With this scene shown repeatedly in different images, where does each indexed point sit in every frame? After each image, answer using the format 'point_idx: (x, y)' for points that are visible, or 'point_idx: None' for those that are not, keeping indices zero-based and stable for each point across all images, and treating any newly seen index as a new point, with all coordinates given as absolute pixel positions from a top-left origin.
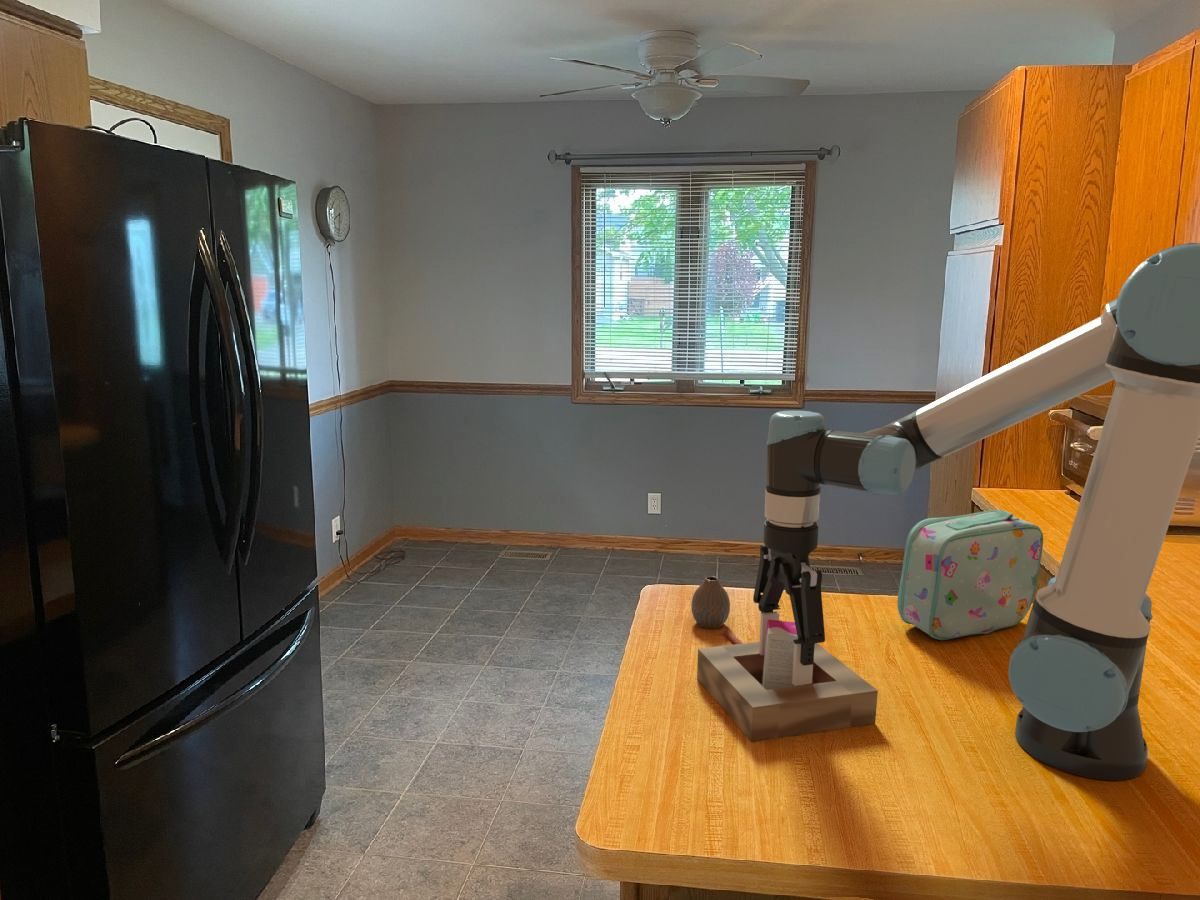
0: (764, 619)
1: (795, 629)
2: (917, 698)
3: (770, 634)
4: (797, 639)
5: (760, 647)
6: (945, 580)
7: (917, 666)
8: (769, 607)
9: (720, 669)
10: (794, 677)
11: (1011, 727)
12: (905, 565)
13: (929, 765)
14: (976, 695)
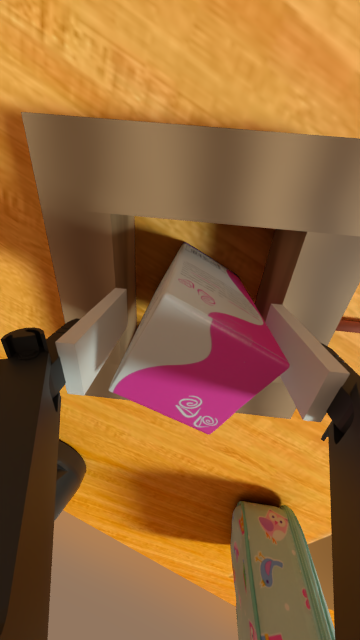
0: (315, 363)
1: (171, 393)
2: (145, 424)
3: (159, 300)
4: (2, 340)
5: (283, 311)
6: (250, 614)
7: (206, 460)
8: (345, 417)
9: (258, 141)
10: (111, 294)
11: (78, 447)
12: (322, 627)
13: None
14: (136, 461)
